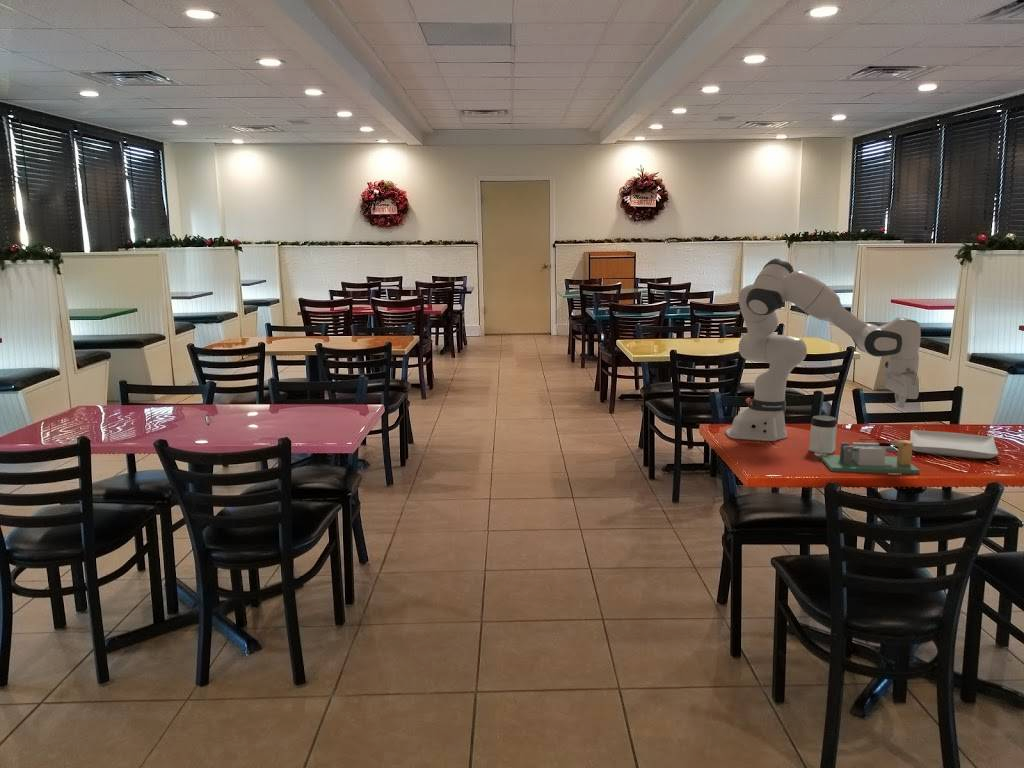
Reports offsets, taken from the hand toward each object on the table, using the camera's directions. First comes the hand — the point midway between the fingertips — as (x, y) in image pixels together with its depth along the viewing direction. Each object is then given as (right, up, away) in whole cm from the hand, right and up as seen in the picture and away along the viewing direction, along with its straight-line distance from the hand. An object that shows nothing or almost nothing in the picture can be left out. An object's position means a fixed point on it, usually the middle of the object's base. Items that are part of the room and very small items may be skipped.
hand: (899, 406), depth 268 cm
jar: (-21, -16, +14) cm, 30 cm away
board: (-13, -19, -5) cm, 24 cm away
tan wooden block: (-3, -18, -6) cm, 20 cm away
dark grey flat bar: (-13, -14, -6) cm, 20 cm away
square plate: (+26, -16, +15) cm, 34 cm away
